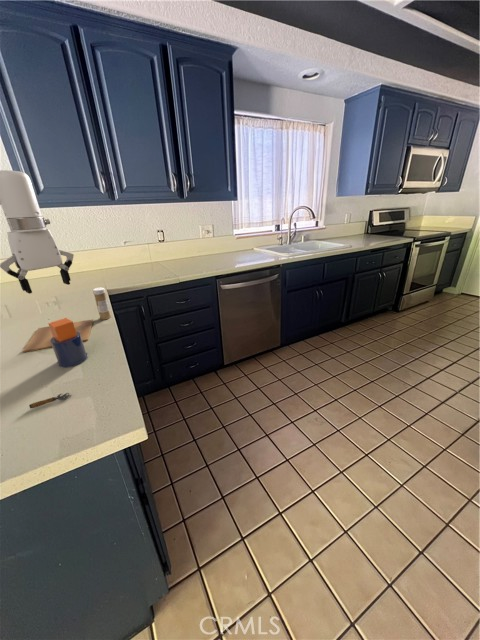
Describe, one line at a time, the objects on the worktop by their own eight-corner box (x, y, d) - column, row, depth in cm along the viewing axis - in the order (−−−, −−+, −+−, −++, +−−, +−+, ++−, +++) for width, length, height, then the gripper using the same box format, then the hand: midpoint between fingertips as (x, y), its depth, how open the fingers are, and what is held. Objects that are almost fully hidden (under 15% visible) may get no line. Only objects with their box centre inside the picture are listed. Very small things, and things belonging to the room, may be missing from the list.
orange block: (59, 342, 79) (54, 327, 77) (53, 337, 82) (48, 323, 80) (77, 335, 83) (72, 321, 80) (70, 331, 85) (66, 317, 83)
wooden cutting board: (23, 352, 91) (22, 351, 91) (38, 329, 108) (38, 328, 108) (88, 340, 98) (87, 339, 97) (93, 320, 115) (92, 319, 114)
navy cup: (55, 370, 81) (46, 345, 77) (60, 356, 88) (52, 333, 84) (86, 363, 84) (78, 340, 80) (89, 351, 91) (82, 329, 87)
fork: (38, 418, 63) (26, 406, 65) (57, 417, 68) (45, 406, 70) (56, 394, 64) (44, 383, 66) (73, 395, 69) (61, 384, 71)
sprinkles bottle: (100, 316, 119) (93, 287, 113) (111, 315, 120) (104, 286, 114) (99, 320, 115) (91, 290, 109) (110, 318, 116) (103, 289, 110)
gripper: (58, 222, 77) (75, 279, 84) (-20, 227, 65) (7, 294, 72) (68, 222, 73) (85, 282, 80) (-12, 228, 61) (16, 299, 68)
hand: (48, 288), depth 76 cm, fingers open, 9 cm apart
